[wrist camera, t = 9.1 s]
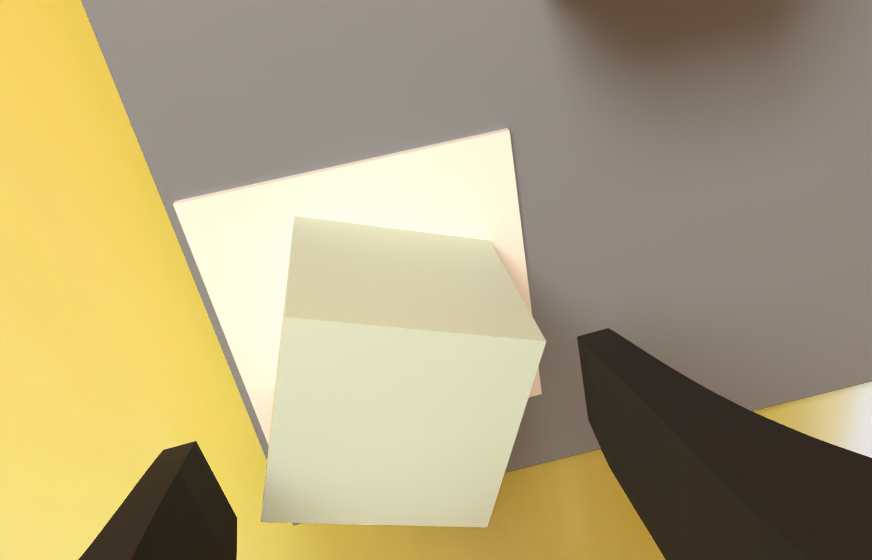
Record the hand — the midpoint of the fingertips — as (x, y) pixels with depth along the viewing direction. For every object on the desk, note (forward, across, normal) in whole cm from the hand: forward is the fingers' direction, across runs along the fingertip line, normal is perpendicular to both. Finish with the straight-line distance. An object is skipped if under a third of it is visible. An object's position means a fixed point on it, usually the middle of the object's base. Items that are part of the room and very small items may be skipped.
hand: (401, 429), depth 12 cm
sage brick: (+4, 0, 0) cm, 5 cm away
